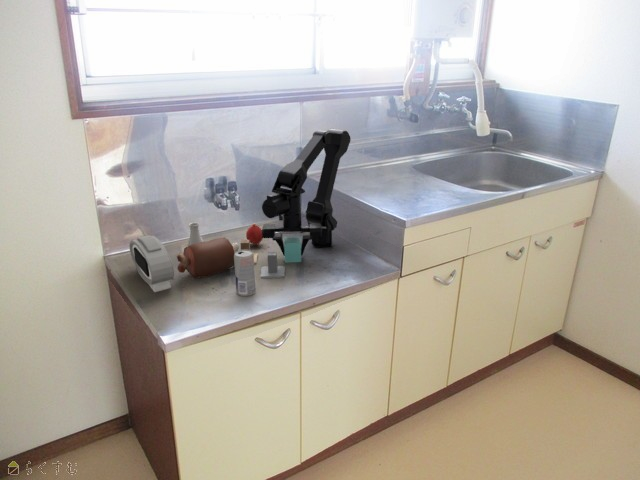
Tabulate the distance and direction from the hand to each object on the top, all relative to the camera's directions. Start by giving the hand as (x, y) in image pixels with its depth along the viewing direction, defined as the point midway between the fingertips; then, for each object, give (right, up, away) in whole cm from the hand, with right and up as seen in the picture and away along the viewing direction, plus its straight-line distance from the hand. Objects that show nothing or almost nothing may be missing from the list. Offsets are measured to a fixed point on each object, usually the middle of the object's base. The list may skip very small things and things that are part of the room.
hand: (293, 255), depth 167 cm
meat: (-25, -5, -9) cm, 27 cm away
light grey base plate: (-6, -5, -9) cm, 12 cm away
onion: (-13, +3, +11) cm, 18 cm away
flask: (-32, +1, +6) cm, 33 cm away
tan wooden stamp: (-15, -1, 0) cm, 15 cm away
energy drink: (-12, -10, -20) cm, 26 cm away
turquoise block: (0, -1, 0) cm, 1 cm away
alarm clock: (-41, -7, -12) cm, 43 cm away
